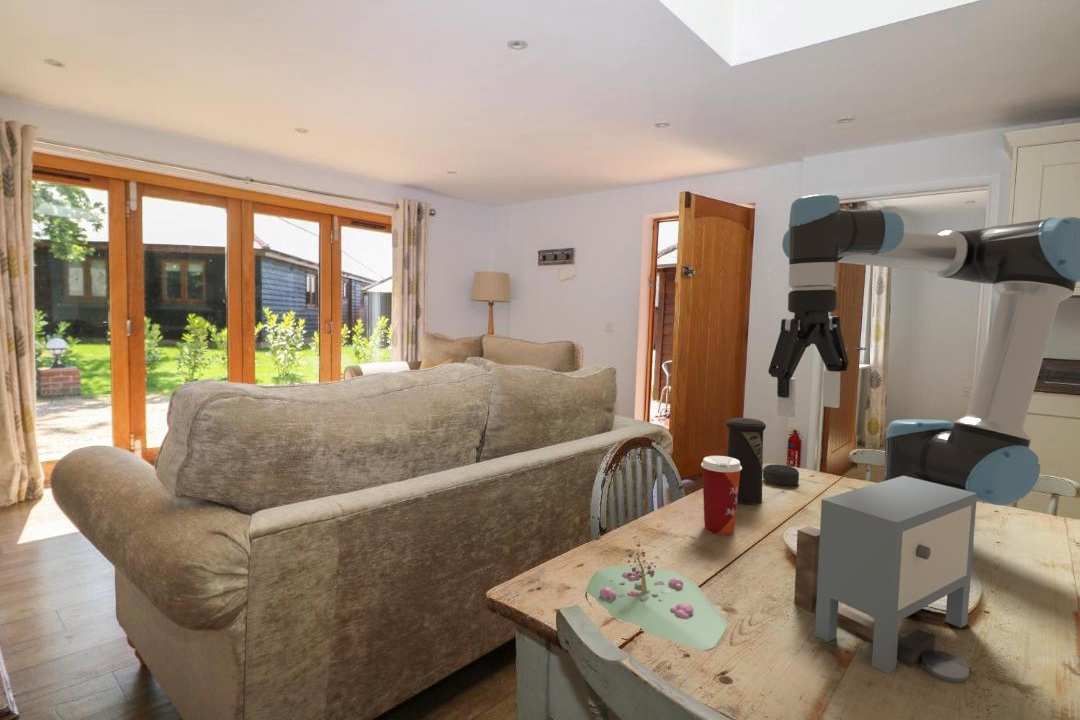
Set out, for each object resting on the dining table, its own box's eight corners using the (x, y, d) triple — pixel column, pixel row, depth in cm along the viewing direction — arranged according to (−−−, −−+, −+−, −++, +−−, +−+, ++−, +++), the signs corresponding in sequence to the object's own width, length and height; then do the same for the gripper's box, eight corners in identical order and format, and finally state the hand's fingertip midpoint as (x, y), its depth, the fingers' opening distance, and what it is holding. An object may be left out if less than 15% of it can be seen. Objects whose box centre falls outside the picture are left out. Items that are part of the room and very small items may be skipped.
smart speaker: (764, 486, 149) (765, 471, 148) (761, 476, 157) (761, 462, 157) (801, 489, 146) (801, 474, 146) (795, 479, 155) (796, 465, 155)
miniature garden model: (767, 619, 86) (770, 562, 85) (680, 672, 73) (682, 605, 72) (644, 561, 105) (645, 514, 105) (559, 594, 93) (559, 541, 92)
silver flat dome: (933, 656, 76) (934, 645, 76) (976, 677, 72) (977, 666, 72) (913, 667, 74) (913, 656, 74) (956, 690, 69) (956, 678, 69)
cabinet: (895, 594, 92) (903, 475, 90) (975, 627, 83) (985, 495, 81) (814, 634, 81) (821, 499, 79) (896, 678, 71) (905, 525, 69)
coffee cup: (742, 538, 114) (745, 466, 113) (700, 535, 116) (702, 464, 115) (736, 523, 123) (739, 455, 121) (697, 520, 124) (699, 453, 123)
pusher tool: (788, 605, 89) (791, 531, 88) (811, 595, 92) (814, 524, 91) (911, 667, 73) (917, 579, 72) (934, 653, 76) (940, 568, 75)
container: (758, 507, 132) (762, 424, 130) (720, 500, 137) (722, 419, 135) (765, 497, 139) (769, 418, 138) (728, 491, 144) (731, 414, 142)
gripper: (831, 289, 106) (828, 400, 108) (747, 290, 93) (745, 417, 95) (872, 288, 100) (868, 405, 102) (788, 288, 86) (786, 424, 88)
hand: (809, 411), depth 98 cm, fingers open, 13 cm apart
